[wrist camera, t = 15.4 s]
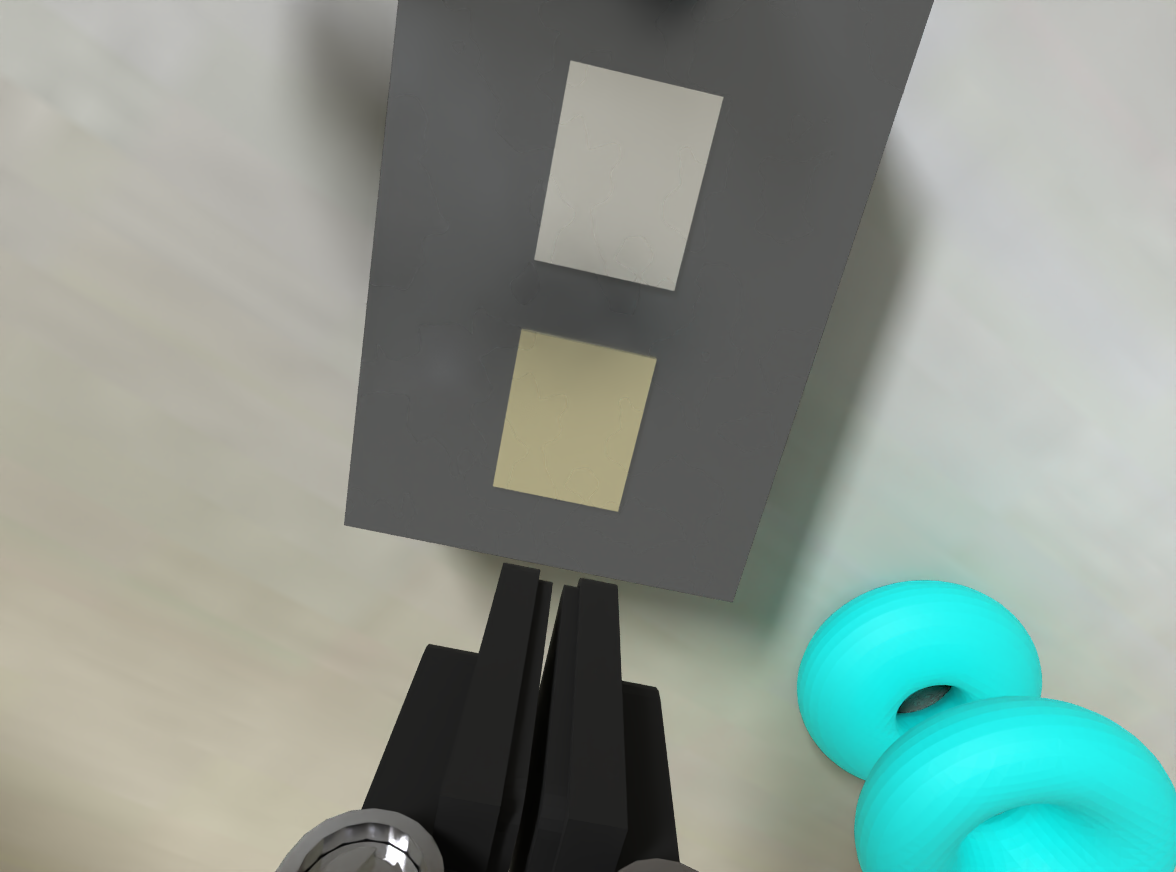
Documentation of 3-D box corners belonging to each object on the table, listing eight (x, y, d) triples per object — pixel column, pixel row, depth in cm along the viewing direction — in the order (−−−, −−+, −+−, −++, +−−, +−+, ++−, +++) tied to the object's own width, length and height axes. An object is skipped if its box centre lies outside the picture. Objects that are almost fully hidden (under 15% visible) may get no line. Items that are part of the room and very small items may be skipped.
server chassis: (705, 521, 28) (736, 612, 22) (397, 458, 27) (337, 533, 21) (875, -35, 21) (989, -135, 15) (474, -136, 21) (418, -285, 14)
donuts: (1282, 834, 20) (1047, 1020, 23) (1062, 631, 29) (916, 781, 32) (1026, 694, 18) (810, 912, 21) (882, 528, 28) (746, 694, 31)
